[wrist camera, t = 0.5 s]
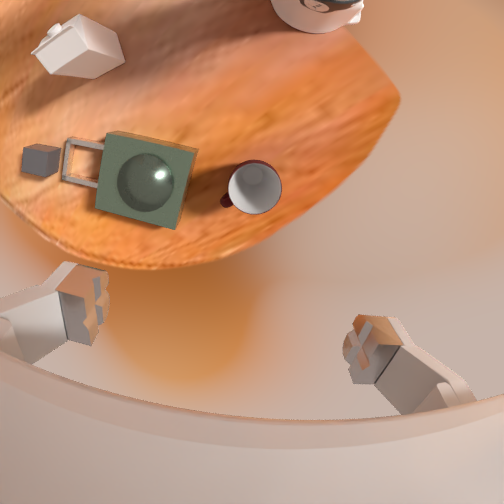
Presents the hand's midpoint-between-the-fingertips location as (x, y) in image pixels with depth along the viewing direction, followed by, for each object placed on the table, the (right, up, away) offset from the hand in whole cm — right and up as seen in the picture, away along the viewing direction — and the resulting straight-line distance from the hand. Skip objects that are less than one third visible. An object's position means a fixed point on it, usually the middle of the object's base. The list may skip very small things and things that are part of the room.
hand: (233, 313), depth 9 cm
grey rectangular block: (-42, +22, +39) cm, 61 cm away
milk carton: (-26, +38, +32) cm, 56 cm away
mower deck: (-23, +17, +42) cm, 51 cm away
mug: (0, +15, +44) cm, 46 cm away
